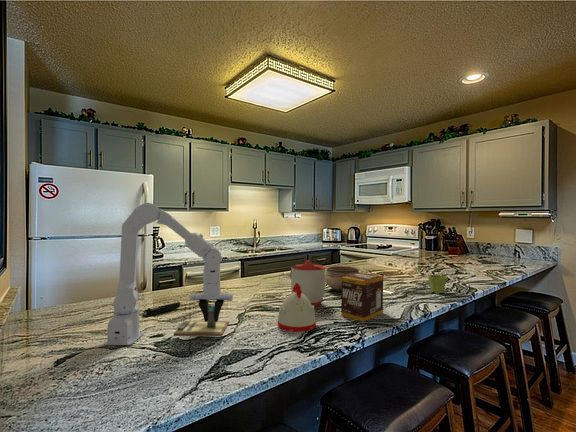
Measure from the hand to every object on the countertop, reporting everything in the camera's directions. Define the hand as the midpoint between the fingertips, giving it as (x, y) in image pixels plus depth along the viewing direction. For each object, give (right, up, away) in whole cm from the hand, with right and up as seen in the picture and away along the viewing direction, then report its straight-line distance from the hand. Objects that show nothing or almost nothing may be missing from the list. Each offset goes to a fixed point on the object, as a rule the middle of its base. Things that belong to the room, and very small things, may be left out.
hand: (211, 321), depth 108 cm
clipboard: (-3, -3, 0) cm, 4 cm away
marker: (0, -2, 0) cm, 2 cm away
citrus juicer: (+35, -3, +31) cm, 47 cm away
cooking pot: (+56, -3, +56) cm, 79 cm away
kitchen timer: (+30, -3, +5) cm, 31 cm away
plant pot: (+105, -4, +53) cm, 118 cm away
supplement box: (+57, -3, +17) cm, 60 cm away
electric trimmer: (-25, -3, +18) cm, 31 cm away
